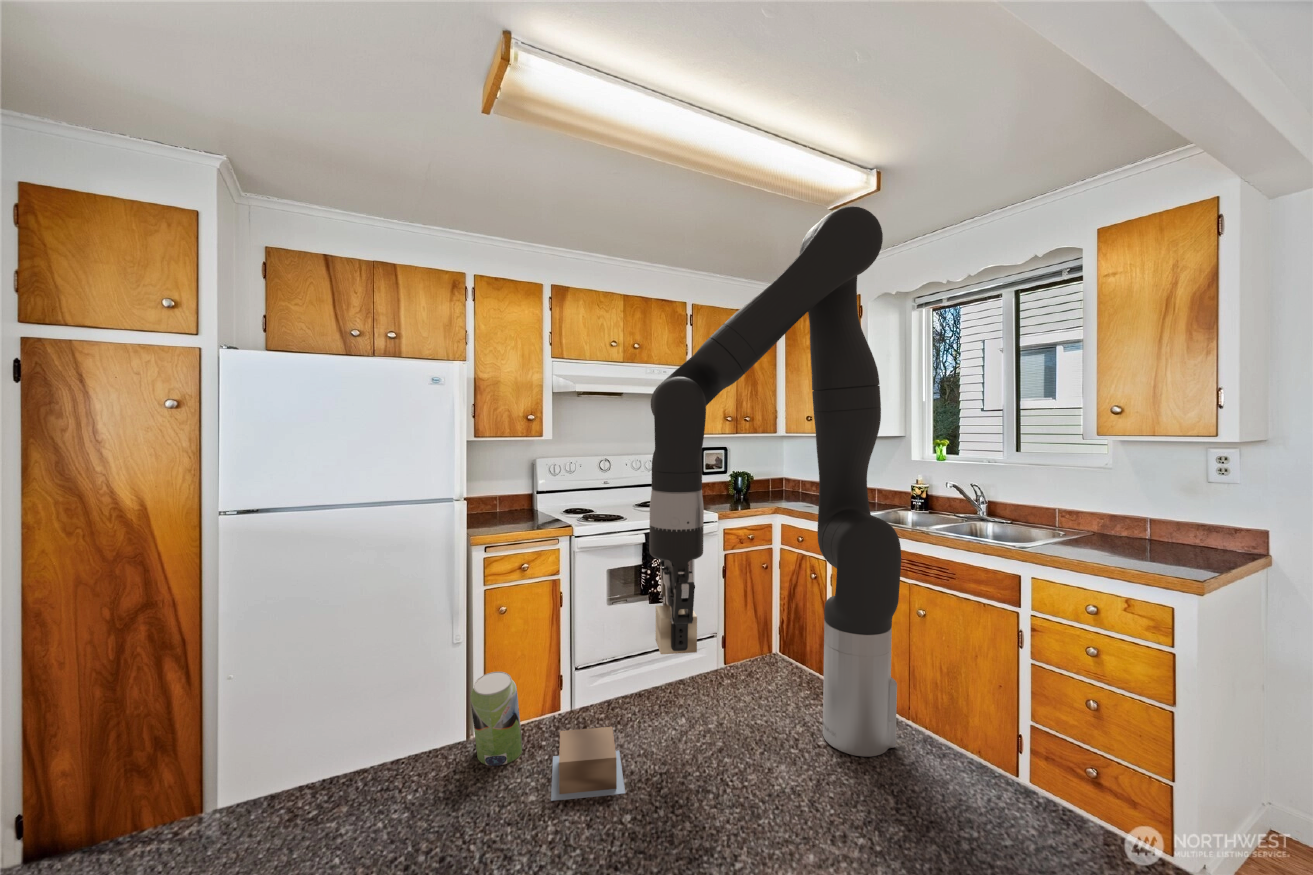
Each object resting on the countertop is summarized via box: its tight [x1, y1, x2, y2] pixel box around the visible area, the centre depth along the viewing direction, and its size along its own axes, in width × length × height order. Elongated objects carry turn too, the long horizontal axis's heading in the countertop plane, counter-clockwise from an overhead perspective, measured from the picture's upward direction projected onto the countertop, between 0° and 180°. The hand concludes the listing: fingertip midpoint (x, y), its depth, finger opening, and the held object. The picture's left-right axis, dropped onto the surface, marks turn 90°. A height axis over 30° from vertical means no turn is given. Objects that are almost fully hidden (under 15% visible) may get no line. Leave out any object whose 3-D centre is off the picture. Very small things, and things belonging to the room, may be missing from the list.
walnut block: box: [558, 726, 617, 794], centre depth 75 cm, size 7×7×4 cm
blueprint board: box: [550, 749, 626, 802], centre depth 75 cm, size 16×12×1 cm
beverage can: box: [469, 671, 524, 767], centre depth 79 cm, size 6×7×12 cm
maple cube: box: [655, 604, 698, 655], centre depth 81 cm, size 5×5×5 cm
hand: (675, 641), depth 81 cm, fingers closed on maple cube, 5 cm apart
